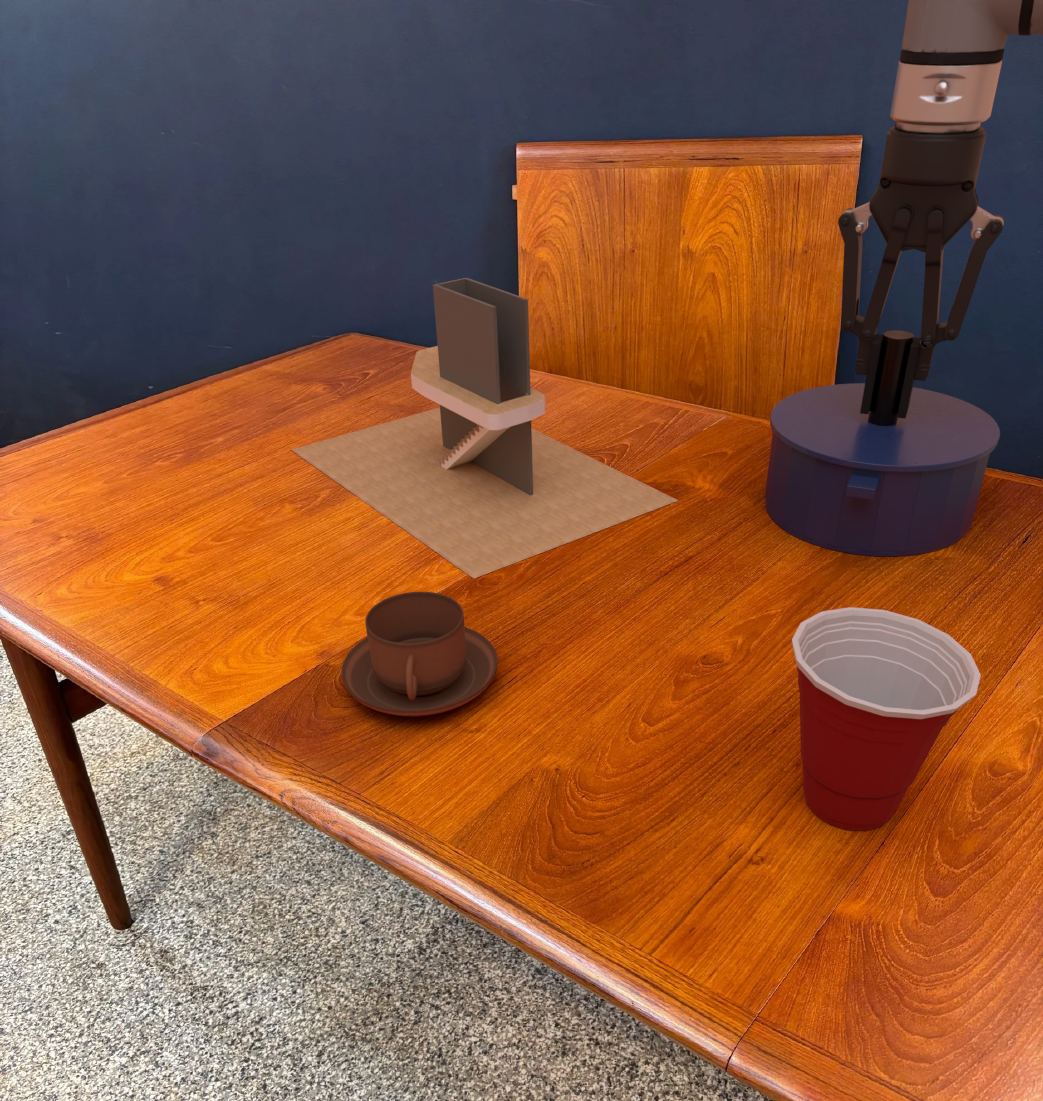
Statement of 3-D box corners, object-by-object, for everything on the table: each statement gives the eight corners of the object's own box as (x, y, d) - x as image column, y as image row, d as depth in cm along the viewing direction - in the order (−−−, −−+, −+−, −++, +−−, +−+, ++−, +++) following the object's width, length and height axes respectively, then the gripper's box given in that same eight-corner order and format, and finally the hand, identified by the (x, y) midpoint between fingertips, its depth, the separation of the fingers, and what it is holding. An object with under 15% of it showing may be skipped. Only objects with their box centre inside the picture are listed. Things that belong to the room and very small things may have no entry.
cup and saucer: (519, 709, 76) (516, 641, 72) (362, 746, 73) (351, 677, 69) (472, 629, 85) (468, 564, 81) (331, 659, 82) (320, 593, 78)
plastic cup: (943, 875, 61) (992, 719, 54) (761, 844, 63) (785, 691, 56) (935, 762, 69) (977, 614, 62) (775, 739, 72) (797, 594, 65)
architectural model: (290, 449, 117) (258, 270, 105) (471, 398, 129) (460, 232, 117) (473, 578, 92) (458, 362, 80) (678, 500, 103) (691, 301, 91)
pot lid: (1001, 407, 100) (1025, 311, 94) (991, 492, 85) (1020, 384, 79) (791, 385, 107) (803, 295, 101) (747, 461, 91) (758, 359, 86)
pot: (978, 472, 106) (998, 393, 101) (962, 585, 88) (985, 496, 83) (790, 449, 113) (800, 373, 108) (739, 550, 94) (748, 464, 89)
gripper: (829, 129, 80) (792, 415, 94) (1044, 133, 75) (971, 435, 89) (844, 116, 86) (806, 388, 100) (1045, 119, 80) (976, 406, 94)
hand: (884, 410), depth 94 cm, fingers closed on pot lid, 3 cm apart
